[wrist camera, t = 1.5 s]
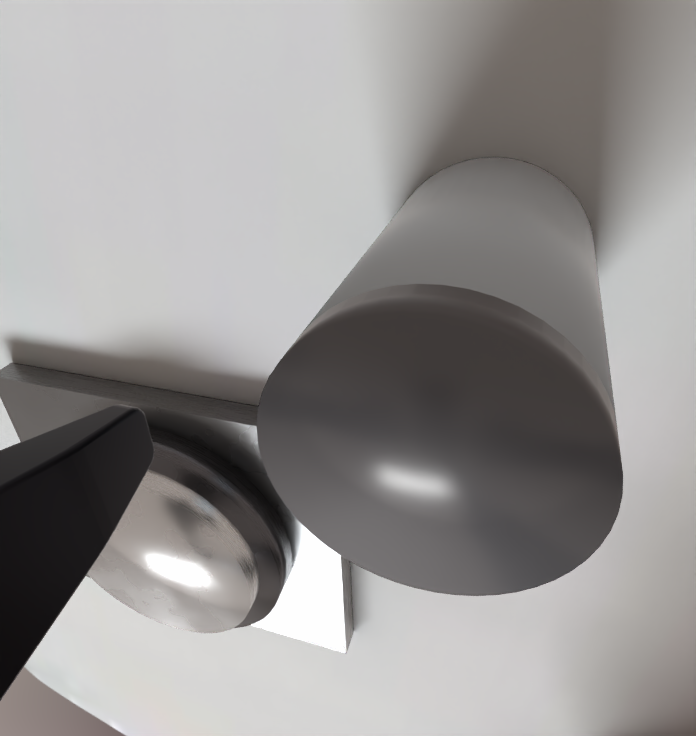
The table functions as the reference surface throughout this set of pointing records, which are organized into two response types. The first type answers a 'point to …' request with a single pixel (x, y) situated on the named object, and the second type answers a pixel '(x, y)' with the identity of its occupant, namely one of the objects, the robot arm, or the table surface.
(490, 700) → the table surface
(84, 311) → the table surface
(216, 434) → the base
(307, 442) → the knob
